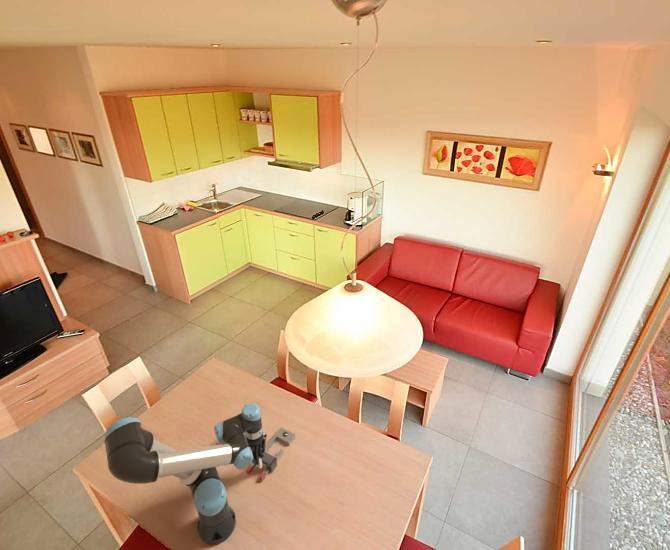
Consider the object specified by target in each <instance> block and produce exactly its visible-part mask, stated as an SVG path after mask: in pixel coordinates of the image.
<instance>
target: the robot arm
mask: <svg viewBox="0 0 670 550" xmlns="http://www.w3.org/2000/svg"><path fill="white" fill-rule="evenodd" d="M213 431H214V434H215V437H216V440H217V442H218V443H219V444H216V445H215V444H213V445H207V446H202V447H195V448H194V447H193V448H188V449H186V448H185V449H181V450H180V449H179V450H178V449H176V448H174V447H172V446H170V445H167V444H166V443H163V442H162V441H159V440H157V439H156V438H155V437H154V434H153V433H152V432H151V431H149V430H147V429H145V428H144V427H142V423H141V421H140V420H139V418H137V417H133V416H127V417H124V418H120V419H118V420H116V421H115V422H113V423H111V424H110V425H109V426H108V427H107V429H106V430H105V432H104V441H103V442H104V445H105V452H106V459H107V468H108V471H109V472H110V475H112V477H114V478H116V479H117V480H118V481H121V482H124V483H128V484H136V485H137V484H138V485H139V484H140V485H141V484H142V485H143V484H150V483H156V482H157V481H158V480H159V479H160V478H164V477H169V476H173V477H175V478H178V481H179V483H180V484H181V485H183V486H186V487H188V488H189V489H190V490H191V494H192V498H193V501H194V505H195V509H196V510H197V514H198V517H199V520H198V523H197V530H198V531H197V532H198V535H199V538H200V539H201V541H202V542H204V543H205V544H208V545H211V546H212V545H219V544H221V543H223V542H225V541H226V540H228V539H229V538H230V536H231V535H232V533H233V532H234V531H235V528H236V524H237V517H236V513H235V511H234V509H233V508H232V507H231V506H230V505H229V501H228V495H227V489H226V487H225V485H224V483H223V482H222V480H221V478H220V475H219V472H218V469H217V467H222V466H229V465H233V466H234V467H235V468H236V469H238V470H243V469H247V468H248V467H249V466H250V465H251V464H252V462H253V463H254V464H256V467H257V468H259V469H260V470H261V469H262V468H263V463H262V458H263V457H264V455H263V454H262V453H264V452H265V446H266V441H267V436H268V434H267V433H264V429H263V422H262V413H261V409H260V406H259V405H258V404H256V403H252V402H251V403H247V404H245V405H244V407H243V408H242V409H241V412H240V413H238V414H236V415H234V416H232V417H229V418H227V419H225V420H222V421H221V422H218V423H217V424H215V425H214V427H213ZM243 432H245V434H246V440H247V442H246V440H245V438H244V435H243ZM247 443H248V444H247ZM256 467H255V468H256Z"/></svg>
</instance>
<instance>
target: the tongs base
mask: <svg viewBox="0 0 670 550" xmlns="http://www.w3.org/2000/svg"><path fill="white" fill-rule="evenodd" d="M295 439H296V434H295V433H293V432H291V431H289V430H288V429H285V428H283V427H280V428H279V429H278V430H277V431H276V433H275V434H274V435H273V437H272V438H271V439H270V440H269V441H268V443H267V444H265V452H266V453H268V452H269V451H270V449H271V448H272V447H273V446H274V445H275V443H276V442H277V441H280V442H281V443H283V444H285V445H287V446H289V447H290V446H291V444H292V443H293V442H294V440H295ZM255 468H256V464H254V463H253V462H251V464H250V465H249V466H248V467H246V473H247V475H251V474H252V472H253V471H254V469H255Z"/></svg>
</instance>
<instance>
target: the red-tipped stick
mask: <svg viewBox="0 0 670 550" xmlns="http://www.w3.org/2000/svg"><path fill="white" fill-rule="evenodd" d="M283 455H284V449H282V448H280V449H279V450H278V451H277V453H276V454H275V456H274V457H275V458H277V462H278V461H279V460H280V459H281V457H282V456H283ZM270 472H271V469H270V467H268V466H267V465H266V468H265V469H264V470H263V472H261V474H260V475H259V477H258V478H259V479H258V480H259V482H263V481H264V480H265V478H266V477H267V476H268V475H269V474H270Z"/></svg>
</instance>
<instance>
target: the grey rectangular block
mask: <svg viewBox="0 0 670 550" xmlns="http://www.w3.org/2000/svg"><path fill="white" fill-rule="evenodd" d="M262 454H263V455H264V457H263V458H262V465H265V466H266V467H267V466H268V467H270V469H271V470H270V472H271V473H273V472H274V471H275V469H276V468H277V467H278V461H277V458H275V456H273V455H271V454H270V453H268V452H267V453H266V452H264V453H262Z"/></svg>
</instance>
